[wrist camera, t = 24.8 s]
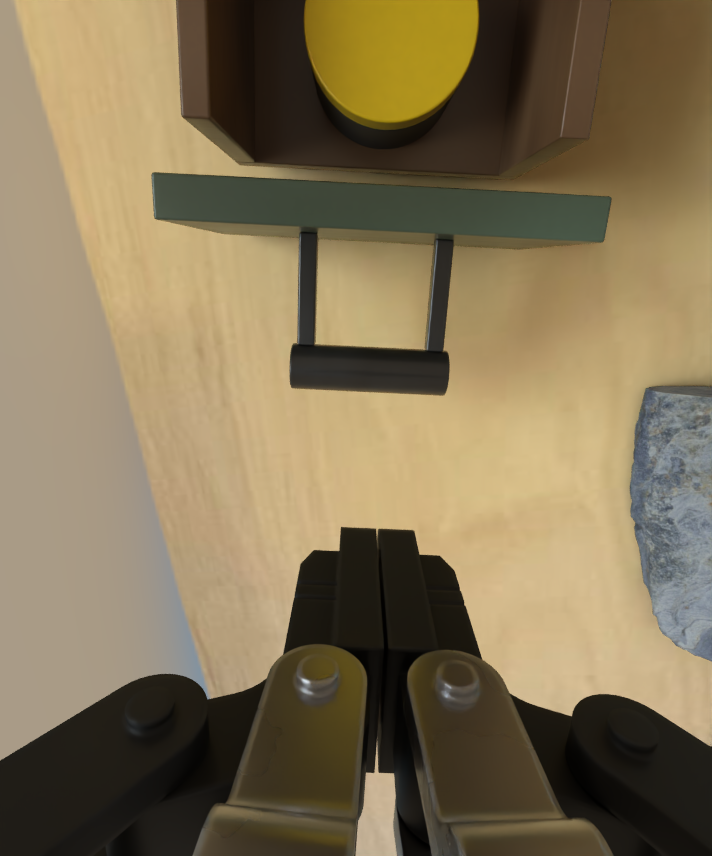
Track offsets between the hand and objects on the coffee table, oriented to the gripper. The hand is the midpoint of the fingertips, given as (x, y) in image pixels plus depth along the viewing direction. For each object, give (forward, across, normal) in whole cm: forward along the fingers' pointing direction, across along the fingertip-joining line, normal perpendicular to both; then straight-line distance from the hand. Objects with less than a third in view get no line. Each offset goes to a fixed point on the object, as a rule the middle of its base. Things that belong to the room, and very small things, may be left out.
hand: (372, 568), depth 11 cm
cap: (+13, 0, -13) cm, 18 cm away
